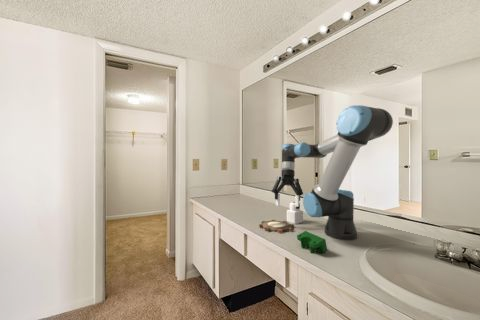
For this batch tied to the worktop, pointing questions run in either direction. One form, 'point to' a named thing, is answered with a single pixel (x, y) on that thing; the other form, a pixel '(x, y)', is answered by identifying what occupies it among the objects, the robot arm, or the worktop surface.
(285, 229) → the sprocket plate
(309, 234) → the clamp
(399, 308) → the worktop surface
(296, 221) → the medicine bottle
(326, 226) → the robot arm
